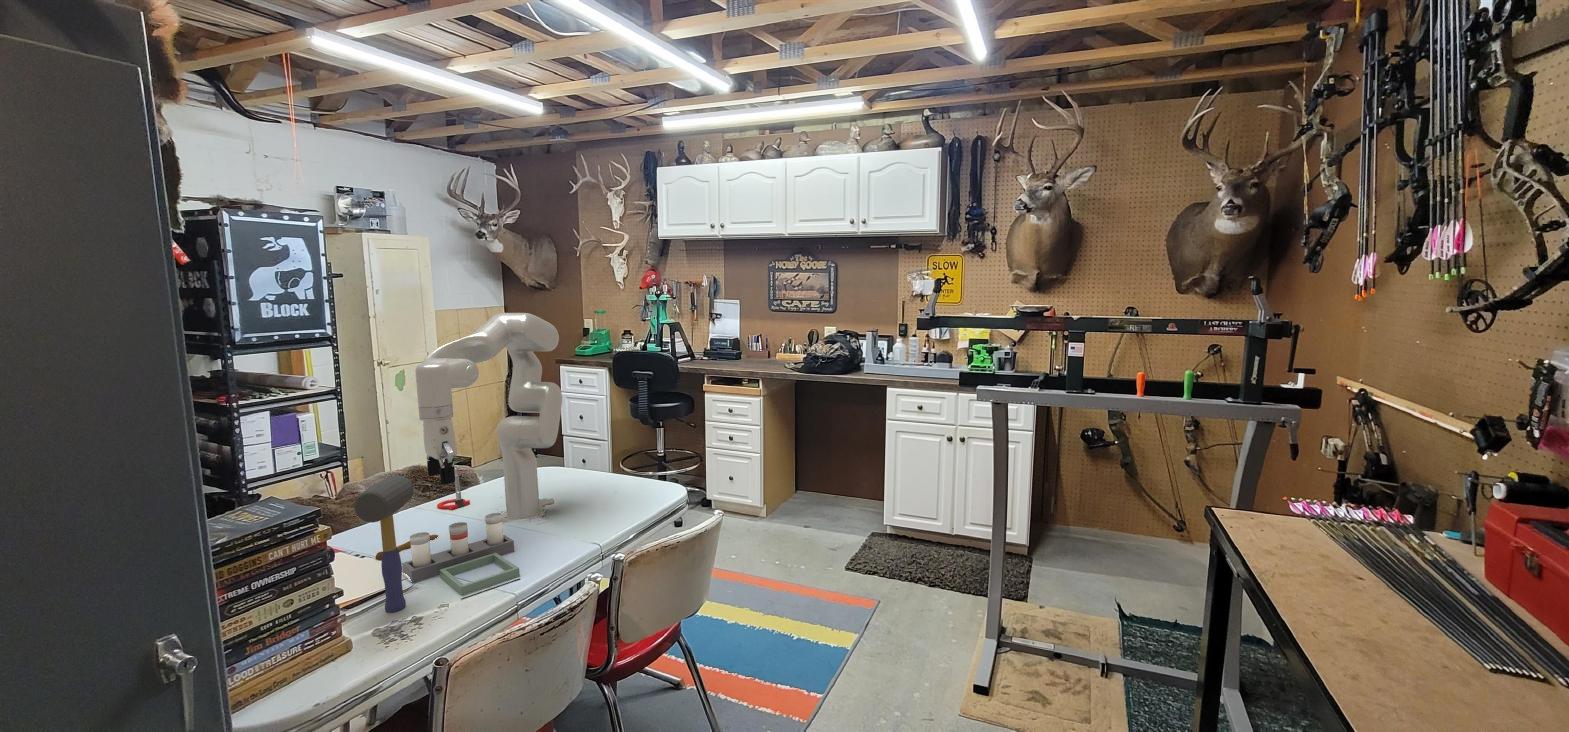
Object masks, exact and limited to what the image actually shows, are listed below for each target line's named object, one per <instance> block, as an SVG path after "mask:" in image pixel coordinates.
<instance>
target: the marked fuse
mask: <svg viewBox="0 0 1569 732" xmlns="http://www.w3.org/2000/svg"><path fill="white" fill-rule="evenodd" d="M448 532H449V533H448V534H449V540H450V549H451V554H452V556H453V557H456V556H459V555H462V554H466V553H469V546H468V544H469V533H468V523H467V522H464V521H460V522H455V523H451V524H449V525H448Z"/></svg>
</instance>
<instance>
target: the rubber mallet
mask: <svg viewBox="0 0 1569 732" xmlns="http://www.w3.org/2000/svg"><path fill="white" fill-rule="evenodd" d="M414 491H415V489H414V486H413V484H412V481H410V479H408V478H407V477H406V476H402V475H392V476H389V477H387V478H384V479H382V480H380V481H378V482H376V483H374V484H372V485H371V486H369V487H368V488H366V489H365V490H364V491H362V492H361V493H360V494H359V495H358V496H357V497H356V499H355V501H354V503H353V509H354V512H355V515H356V516H357V517H358V518H359V519H360V520H361V521H364V522H366V523H377V522H380V533H381V545H382V551H381V552H382V560H381V575H382V576H381V577H382V579H383V582H384V583H383V584H384V592H385V603H384V610H385V611H386V612H387V613H397V612H400V611H402V610H404V609H405V607H406V604H407V601H406V598H405V596H404V591H403V580H402V579H403V578H402V577H403V567H402V559H401V554H400V552H399V551H398V549H397V547H398V546H397V539H396V532H395V524H394V523H395V521H394V513H395V514H396V513H397V512H398V511H399V510H400V509H402V508H403V507H404V506H405V505H407V503H408V502H410V500H411V499H412V497H413V495H414Z"/></svg>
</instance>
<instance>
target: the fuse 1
mask: <svg viewBox="0 0 1569 732" xmlns="http://www.w3.org/2000/svg"><path fill="white" fill-rule="evenodd" d="M429 535H430V533H429V532H428V531H423V532H422V531H420V532H416V533H413V534H411V535H409V541H410V544H411V548H410V550H411V552H410V553H411V560H412V563H413V568H414V569H415V568H419V567H422V566H426V565H429V564H431V555H432V553H431V546H430V545H431V543H430V542H431V541H430V537H429Z"/></svg>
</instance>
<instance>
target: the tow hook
mask: <svg viewBox="0 0 1569 732" xmlns="http://www.w3.org/2000/svg"><path fill="white" fill-rule="evenodd" d="M454 470H455V482H454V485H455V497H456V498H451V499H447V500H443V501H441V502H438V503H437V505H436V508H437V509H439V510H441V509H442V510H447V509H448V510H449V511H453V510H456V509H461V508H463V507H465V506H467V505H470V504H471V501H470V499H467V500H466V499H465V498H462V493H461V487H460V478H459V474H458V468H456V467H454ZM450 503H451V504H450ZM452 503H454V504H452Z"/></svg>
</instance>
